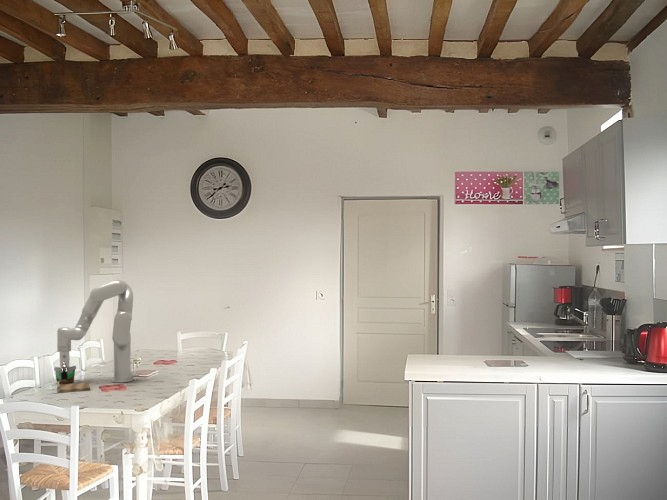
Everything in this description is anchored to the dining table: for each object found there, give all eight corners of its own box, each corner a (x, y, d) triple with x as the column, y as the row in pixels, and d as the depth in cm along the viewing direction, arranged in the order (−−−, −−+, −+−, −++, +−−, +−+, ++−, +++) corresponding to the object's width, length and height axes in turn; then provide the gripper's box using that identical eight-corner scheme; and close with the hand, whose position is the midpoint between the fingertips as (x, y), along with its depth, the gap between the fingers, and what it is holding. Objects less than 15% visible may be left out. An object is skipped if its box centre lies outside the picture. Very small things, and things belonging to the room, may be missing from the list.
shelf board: (89, 385, 404) (89, 379, 404) (90, 390, 389) (90, 384, 389) (57, 387, 398) (57, 381, 398) (57, 393, 383) (57, 386, 383)
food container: (52, 385, 405) (52, 368, 405) (54, 383, 411) (54, 366, 411) (75, 384, 408) (75, 366, 408) (76, 382, 414) (76, 365, 414)
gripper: (71, 350, 403) (71, 380, 403) (70, 346, 419) (70, 375, 419) (57, 351, 400) (57, 381, 400) (57, 347, 416) (57, 375, 416)
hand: (64, 377), depth 409 cm, fingers open, 9 cm apart
